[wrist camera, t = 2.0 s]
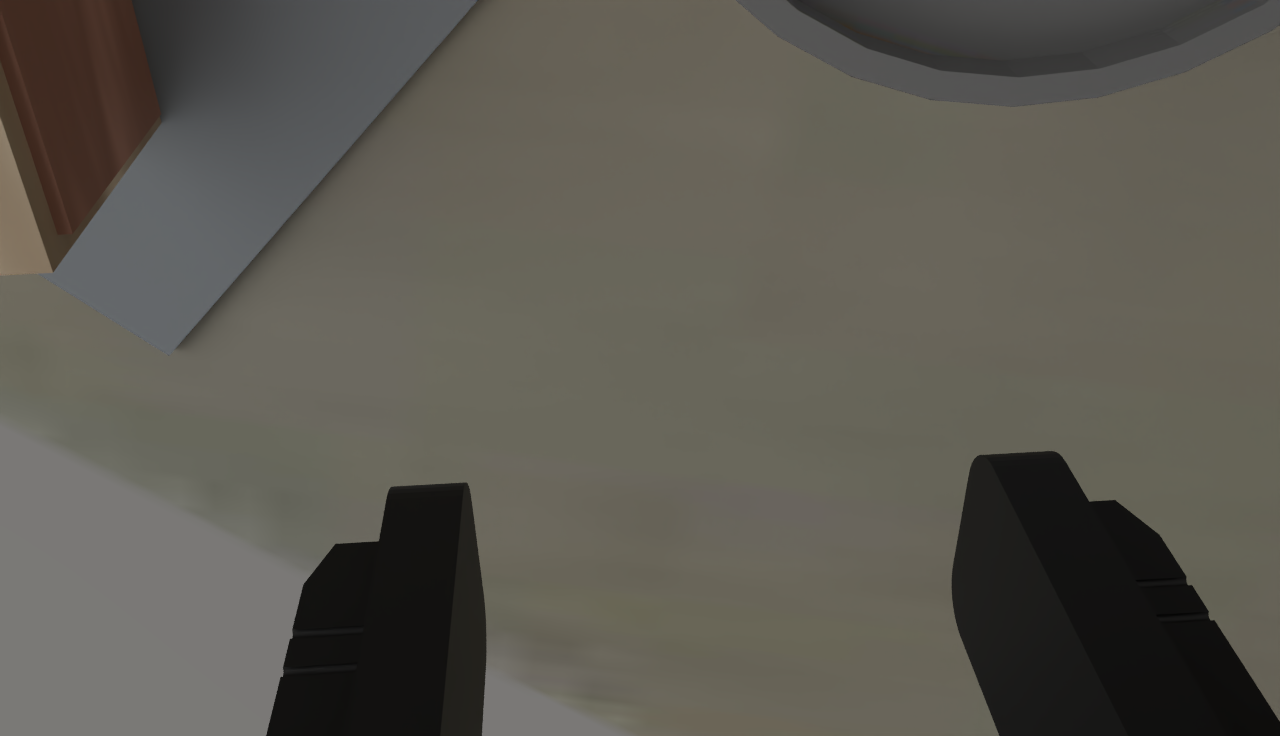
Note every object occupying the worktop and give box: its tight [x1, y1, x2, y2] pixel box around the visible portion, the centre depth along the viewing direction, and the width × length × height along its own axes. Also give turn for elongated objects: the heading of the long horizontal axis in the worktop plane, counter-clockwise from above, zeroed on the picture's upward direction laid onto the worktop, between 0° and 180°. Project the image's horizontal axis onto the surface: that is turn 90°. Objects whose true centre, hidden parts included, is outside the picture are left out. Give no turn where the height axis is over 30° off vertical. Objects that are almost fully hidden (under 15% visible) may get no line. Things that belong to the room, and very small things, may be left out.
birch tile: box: [0, 0, 161, 275], centre depth 25 cm, size 2×7×8 cm, turn 1°
